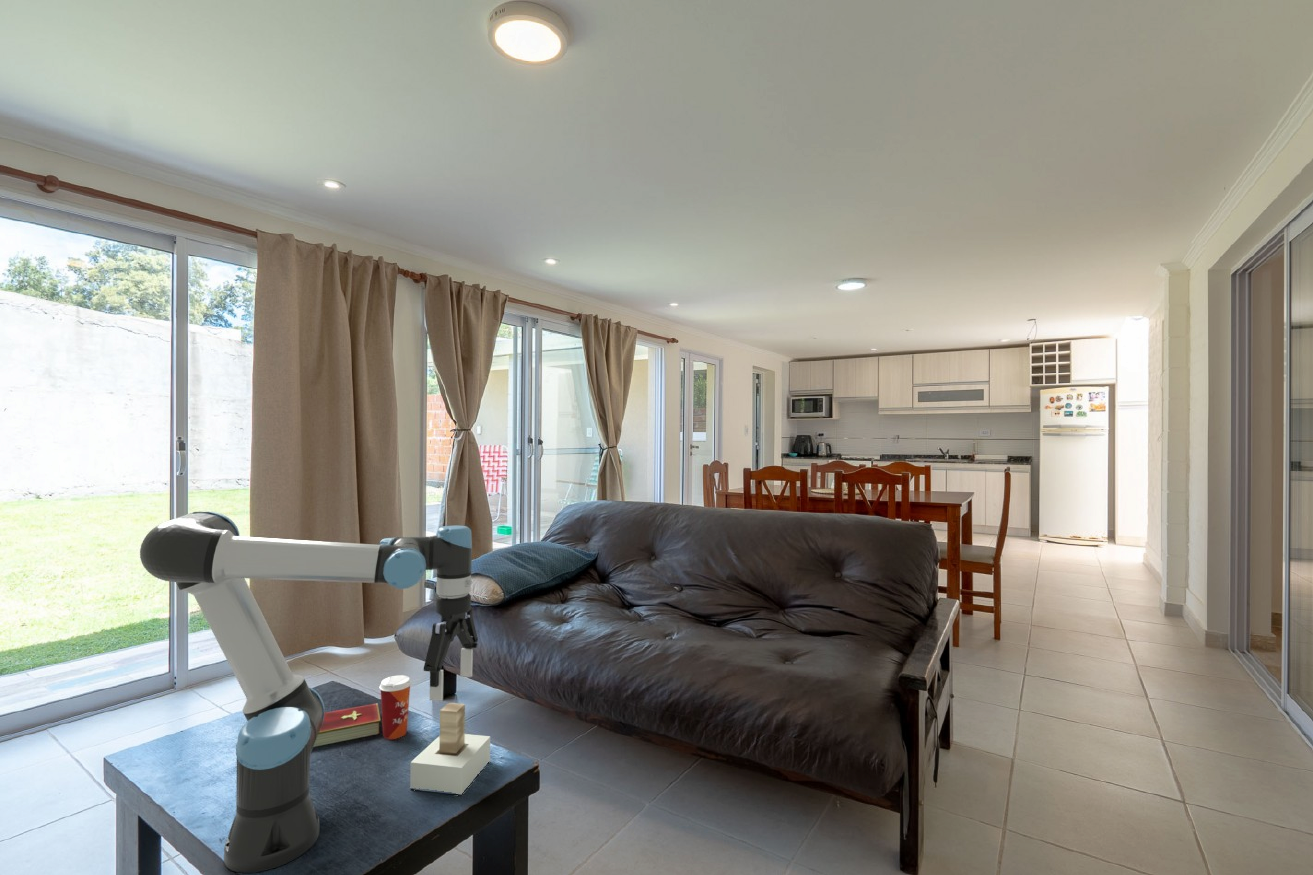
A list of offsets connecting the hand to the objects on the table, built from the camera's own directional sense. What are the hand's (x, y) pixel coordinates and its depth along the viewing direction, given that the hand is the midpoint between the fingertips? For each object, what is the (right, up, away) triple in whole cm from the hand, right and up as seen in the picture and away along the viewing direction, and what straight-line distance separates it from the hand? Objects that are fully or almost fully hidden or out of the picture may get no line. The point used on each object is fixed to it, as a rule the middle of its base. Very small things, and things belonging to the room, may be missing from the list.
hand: (452, 687), depth 137 cm
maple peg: (0, -18, 0) cm, 18 cm away
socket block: (0, -20, 0) cm, 20 cm away
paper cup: (-21, -20, +19) cm, 35 cm away
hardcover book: (-37, -20, +19) cm, 46 cm away
